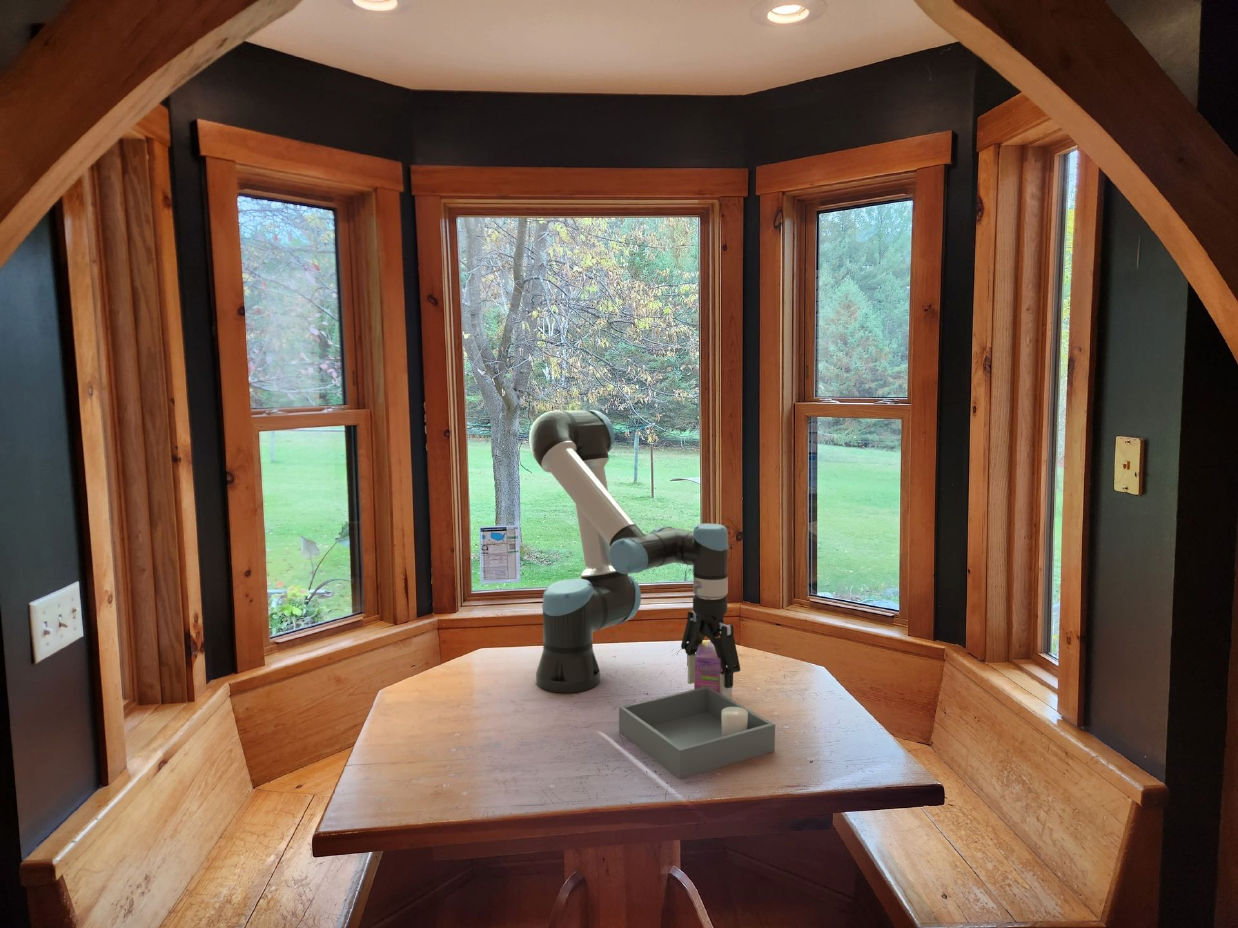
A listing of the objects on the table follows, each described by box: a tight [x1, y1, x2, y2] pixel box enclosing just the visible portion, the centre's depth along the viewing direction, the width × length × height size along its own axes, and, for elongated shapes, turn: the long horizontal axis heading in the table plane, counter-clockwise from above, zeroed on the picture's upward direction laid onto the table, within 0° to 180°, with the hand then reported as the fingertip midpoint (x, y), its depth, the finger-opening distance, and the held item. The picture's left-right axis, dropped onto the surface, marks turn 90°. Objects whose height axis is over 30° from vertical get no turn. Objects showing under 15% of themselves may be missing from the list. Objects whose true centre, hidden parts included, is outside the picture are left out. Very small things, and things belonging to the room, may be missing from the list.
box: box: [693, 641, 722, 693], centre depth 172 cm, size 10×6×12 cm, turn 168°
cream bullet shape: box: [721, 707, 748, 737], centre depth 151 cm, size 5×5×6 cm
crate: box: [618, 686, 776, 780], centre depth 151 cm, size 22×22×6 cm
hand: (709, 691), depth 172 cm, fingers closed on box, 11 cm apart
